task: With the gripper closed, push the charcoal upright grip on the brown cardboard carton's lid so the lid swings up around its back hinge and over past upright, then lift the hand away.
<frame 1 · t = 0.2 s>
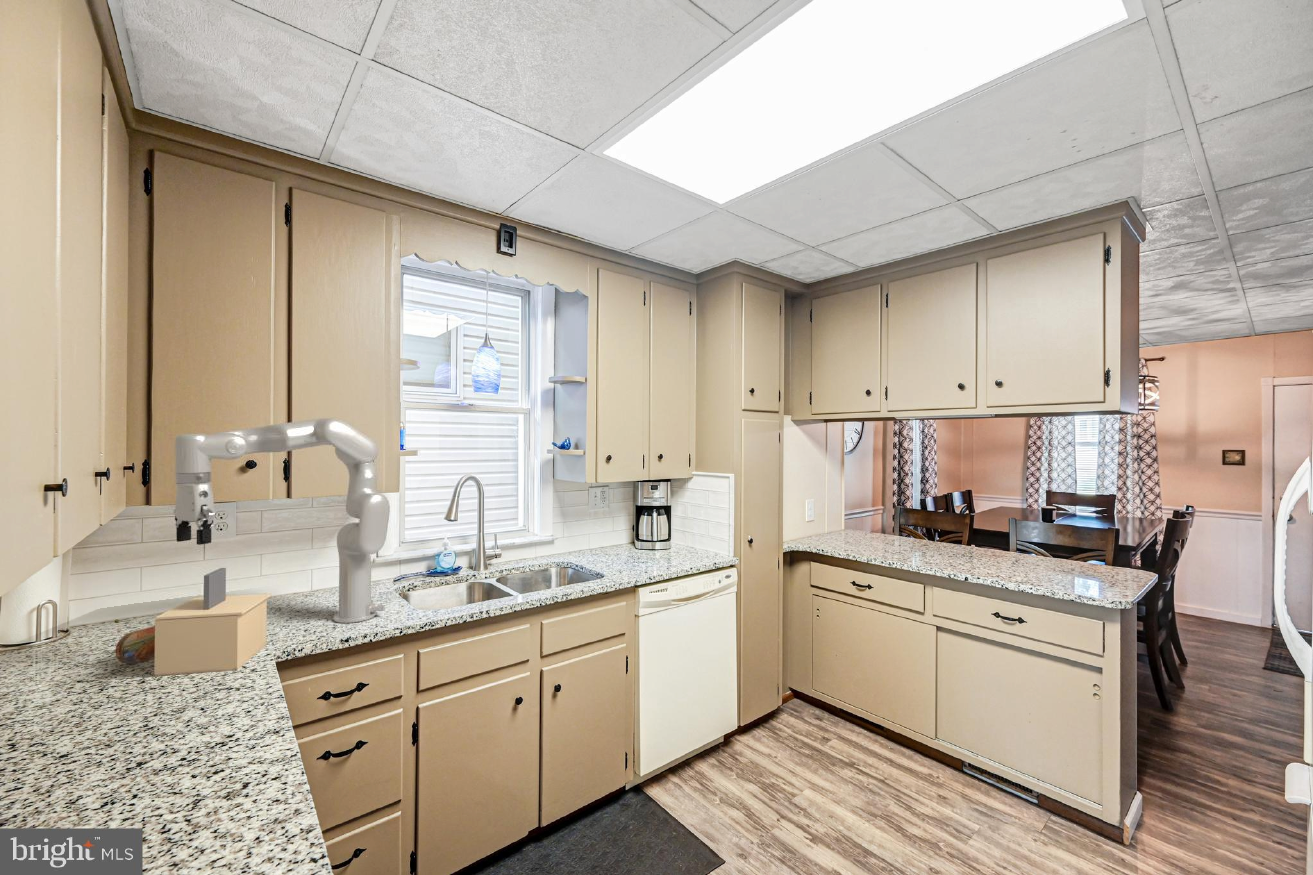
hand: (193, 542, 154), 32 cm above the countertop, tool pointing down, fingers open, 9 cm apart
lid: (217, 589, 153), point 19 cm above the countertop, hinge at 0.0°
carton: (214, 659, 153), on the countertop
tin: (148, 658, 154), on the countertop
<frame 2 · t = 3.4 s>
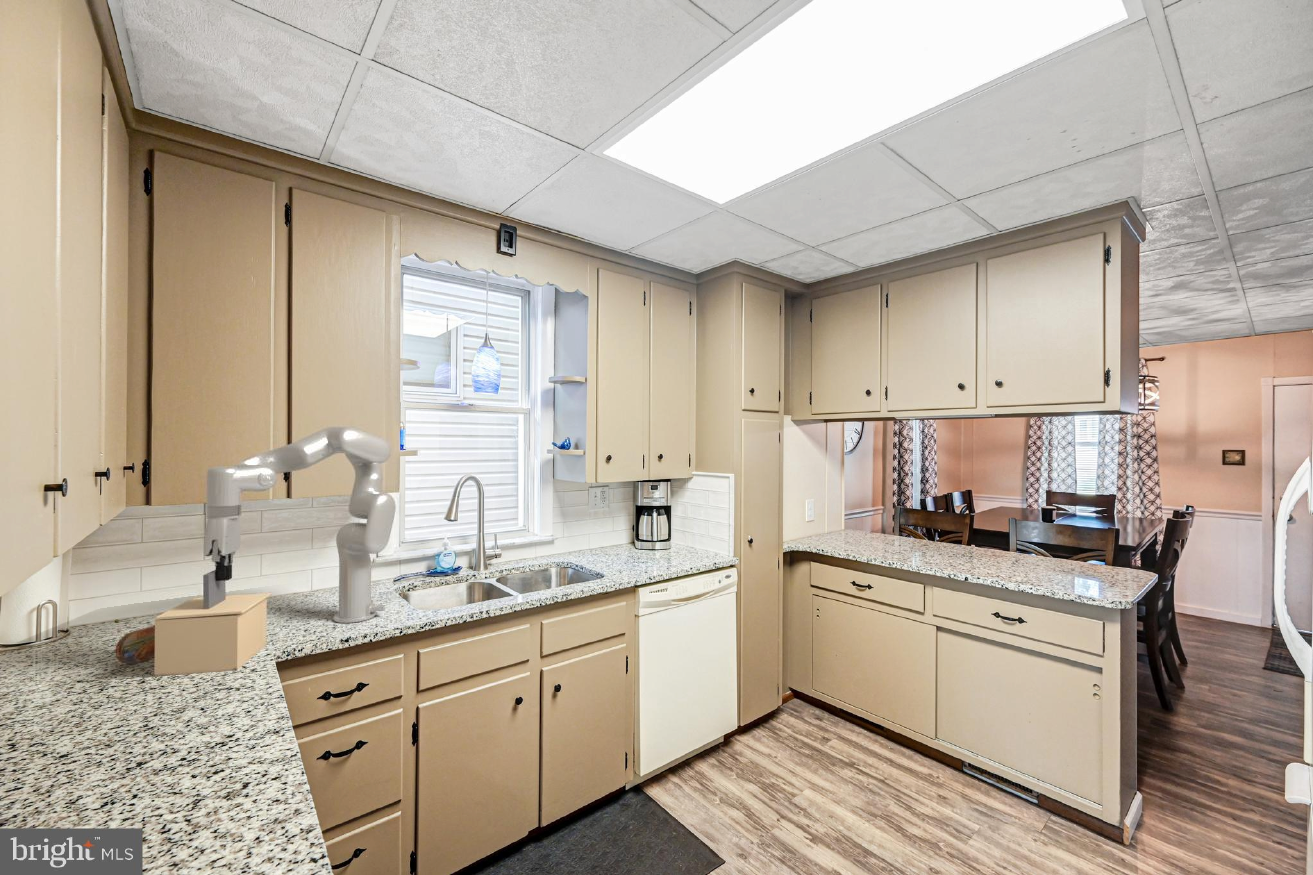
hand: (223, 579, 154), 21 cm above the countertop, tool pointing down, fingers closed
lid: (216, 588, 153), point 19 cm above the countertop, hinge at 0.9°, touching gripper
everything else where it was.
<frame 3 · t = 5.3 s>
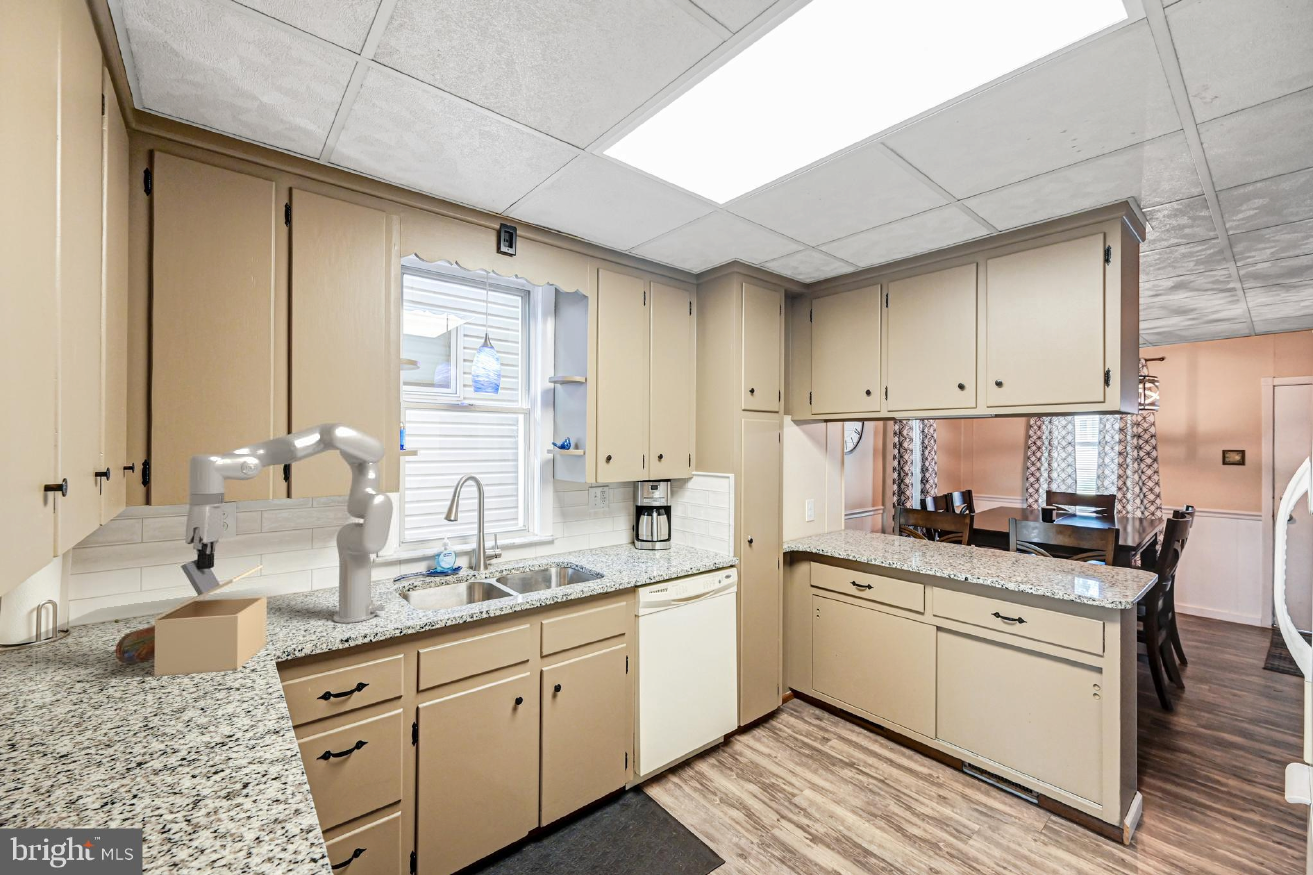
hand: (205, 568, 153), 25 cm above the countertop, tool pointing down, fingers closed
lid: (203, 575, 152), point 23 cm above the countertop, hinge at 26.8°, touching gripper
everything else where it was.
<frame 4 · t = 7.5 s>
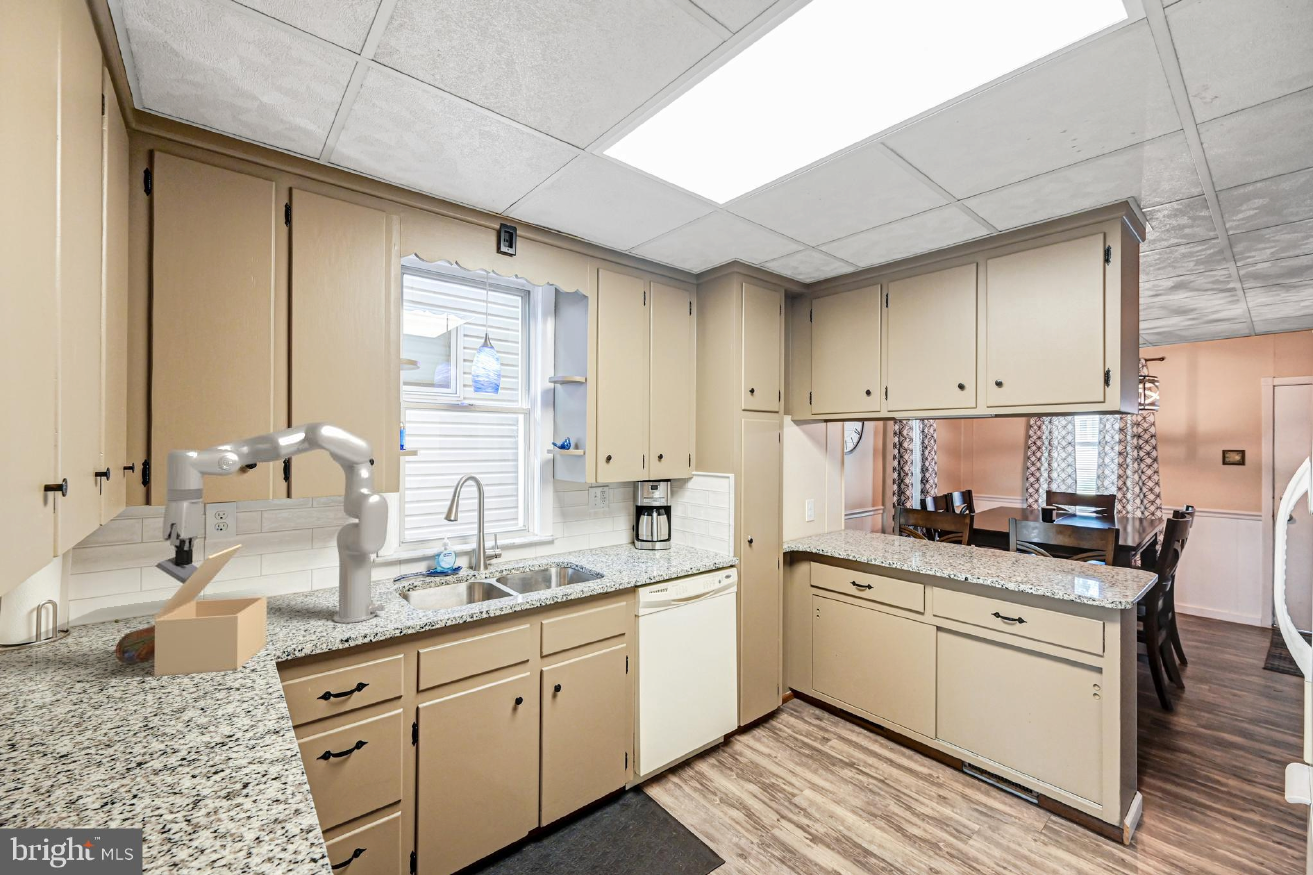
hand: (183, 564, 151), 26 cm above the countertop, tool pointing down, fingers closed
lid: (185, 569, 151), point 25 cm above the countertop, hinge at 51.8°, touching gripper
everything else where it was.
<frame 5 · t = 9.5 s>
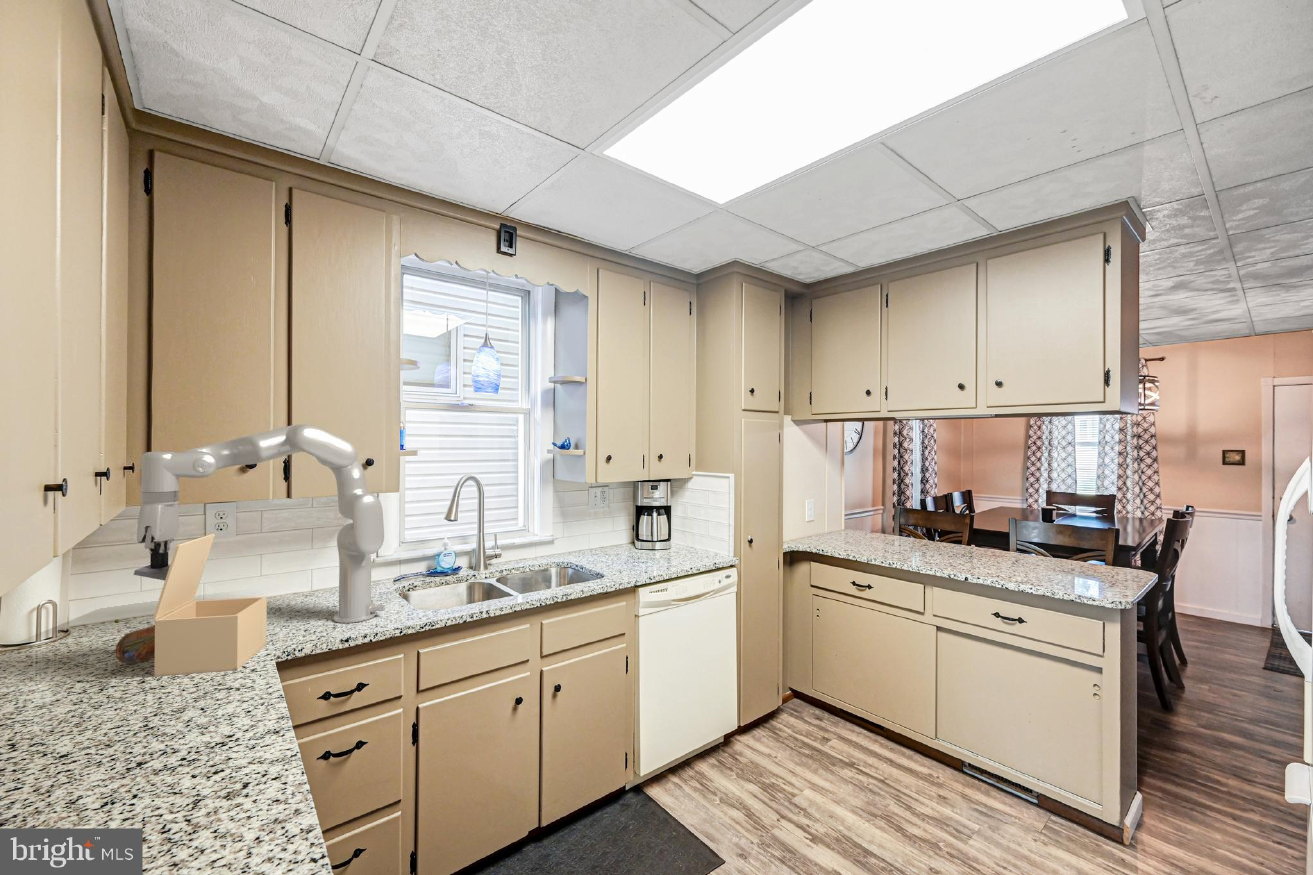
hand: (159, 567, 150), 26 cm above the countertop, tool pointing down, fingers closed
lid: (166, 570, 150), point 25 cm above the countertop, hinge at 74.7°, touching gripper
everything else where it was.
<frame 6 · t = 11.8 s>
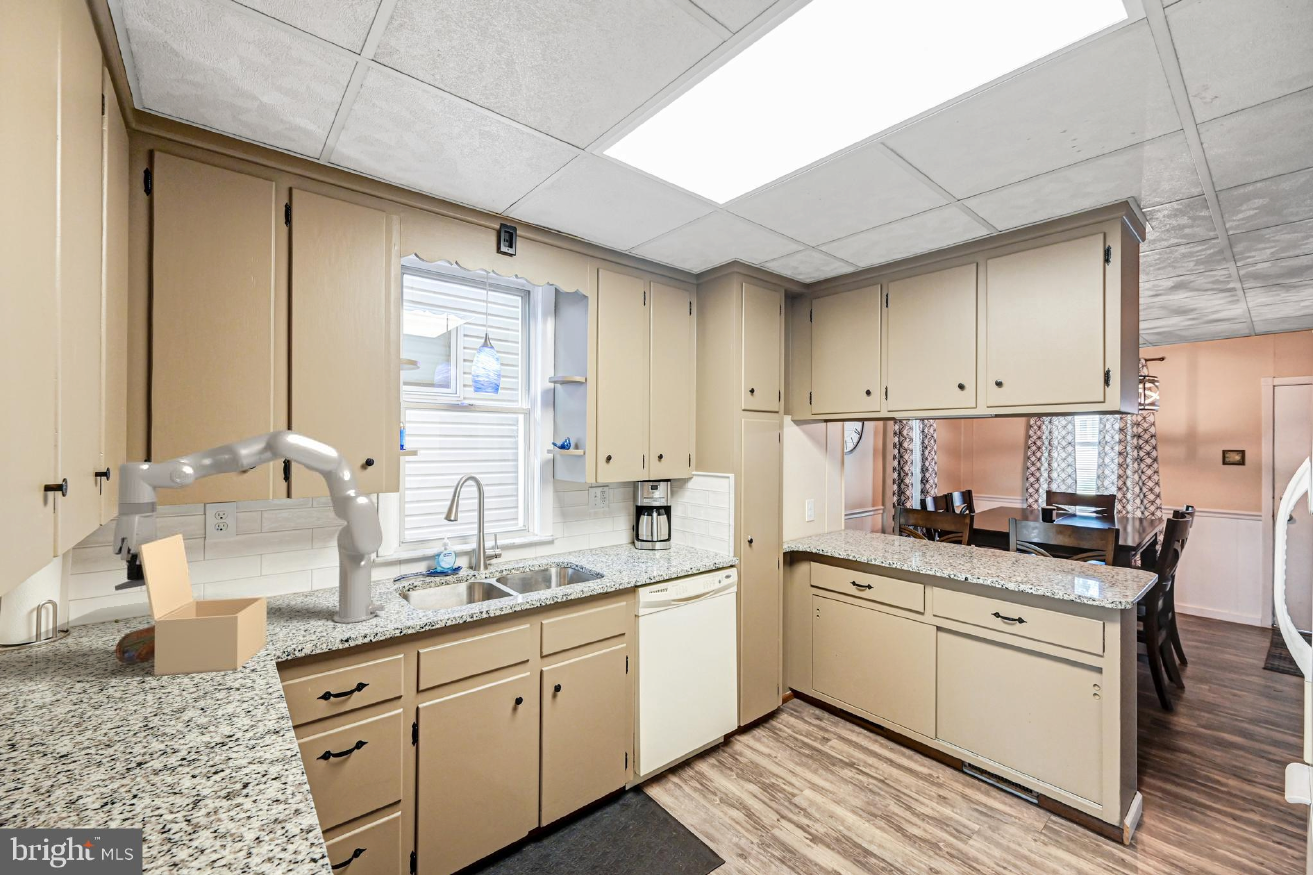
hand: (136, 579, 149), 23 cm above the countertop, tool pointing down, fingers closed
lid: (147, 578, 149), point 23 cm above the countertop, hinge at 99.2°, touching gripper
everything else where it was.
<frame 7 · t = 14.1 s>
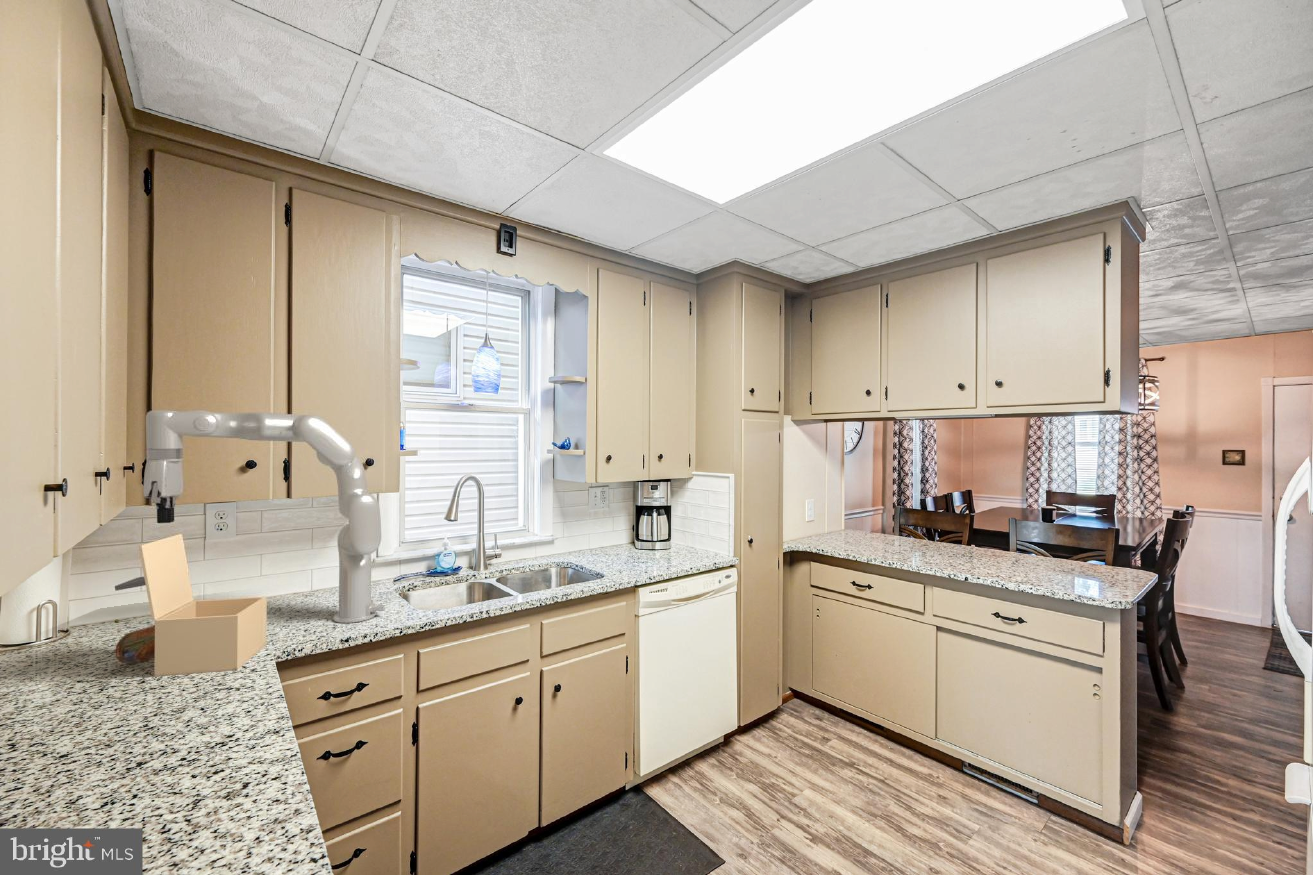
hand: (165, 522, 155), 37 cm above the countertop, tool pointing down, fingers closed
lid: (147, 578, 149), point 23 cm above the countertop, hinge at 99.2°
everything else where it was.
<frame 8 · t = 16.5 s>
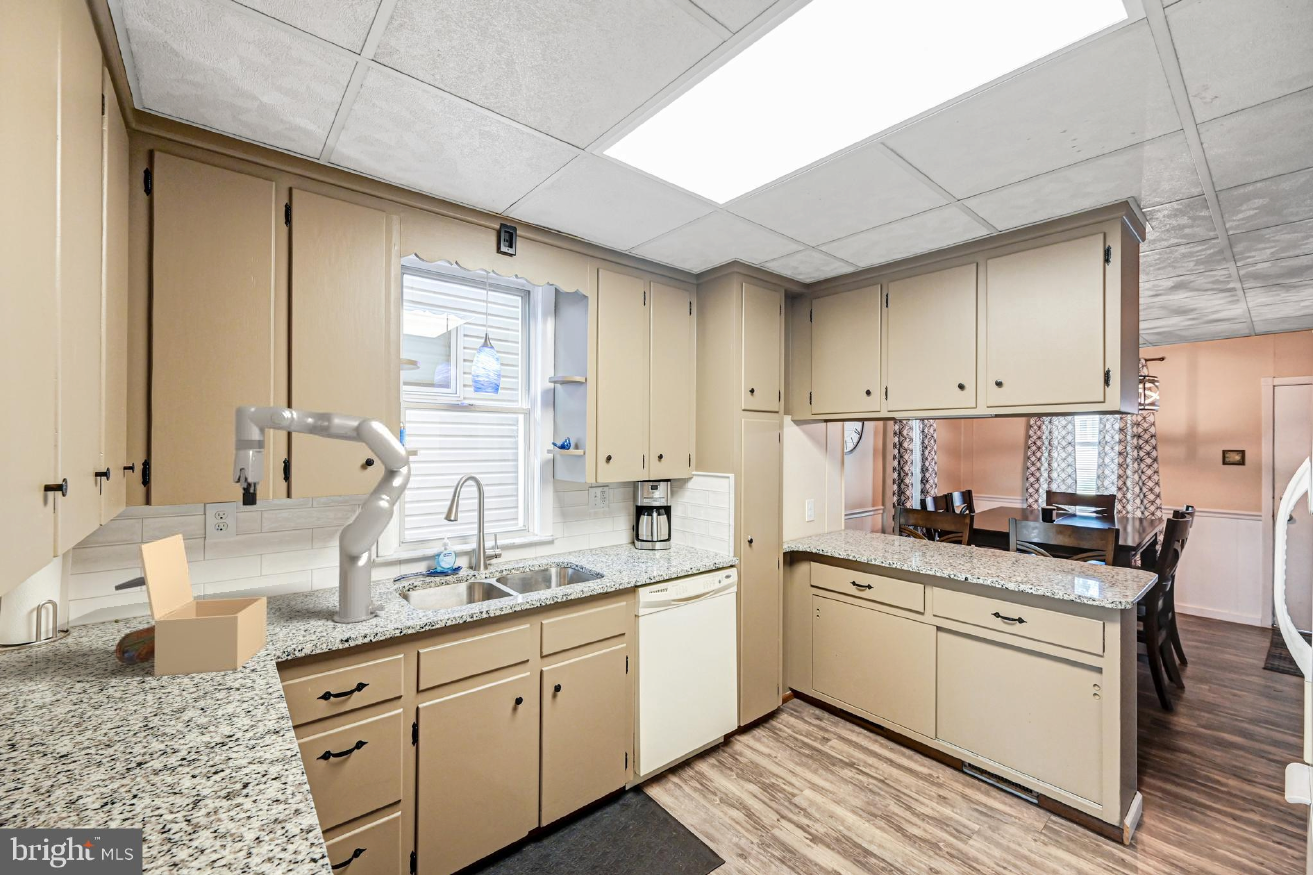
hand: (249, 505, 175), 39 cm above the countertop, tool pointing down, fingers closed
nothing on the countertop moved.
at the end: lid at +99° (first picture: +0°); tin moved 0.3 cm from its start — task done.
